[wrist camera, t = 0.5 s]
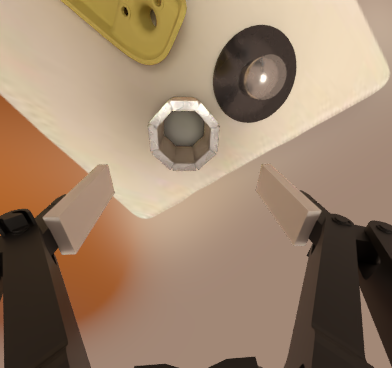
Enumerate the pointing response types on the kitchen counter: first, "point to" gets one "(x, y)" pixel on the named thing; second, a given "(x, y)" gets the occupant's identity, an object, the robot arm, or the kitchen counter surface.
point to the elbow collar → (183, 155)
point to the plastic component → (134, 25)
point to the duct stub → (254, 73)
